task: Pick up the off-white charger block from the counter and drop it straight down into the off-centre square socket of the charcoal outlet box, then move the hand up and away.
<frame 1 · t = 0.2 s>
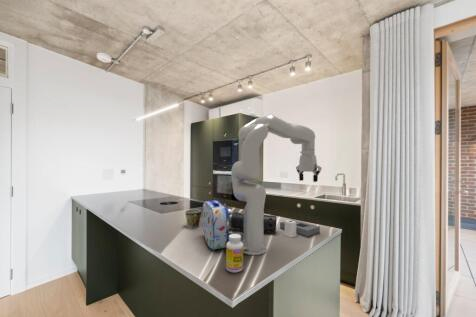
hand: (308, 181, 130), 30 cm above the counter, tool pointing down, fingers open, 9 cm apart
supplement bottle: (234, 269, 84), on the counter
lunch box: (215, 243, 110), on the counter
olive green tapered container: (193, 227, 136), on the counter
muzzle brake: (252, 231, 130), on the counter, touching spread jar
outlet box: (299, 230, 130), on the counter
spread jar: (224, 228, 135), on the counter, touching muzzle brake
charger: (290, 235, 122), on the counter
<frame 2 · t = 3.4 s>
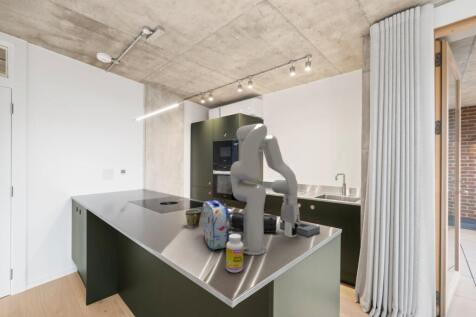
hand: (290, 233, 122), 1 cm above the counter, tool pointing down, fingers closed on charger, 4 cm apart
charger: (290, 235, 122), on the counter, touching gripper
when the fingers open (5 cm above the counter, at t = 8.0 s): charger drops 2 cm, resting on outlet box.
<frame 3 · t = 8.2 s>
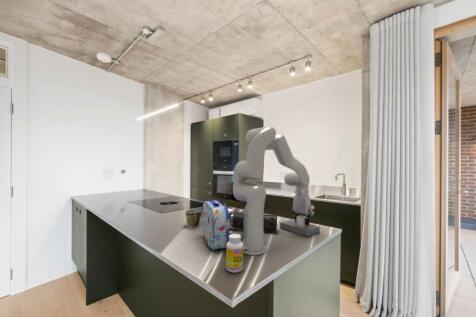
hand: (302, 223, 129), 5 cm above the counter, tool pointing down, fingers open, 6 cm apart
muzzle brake: (253, 230, 131), on the counter, touching spread jar
charger: (302, 230, 129), point 1 cm above the counter, touching outlet box
everything else where it was.
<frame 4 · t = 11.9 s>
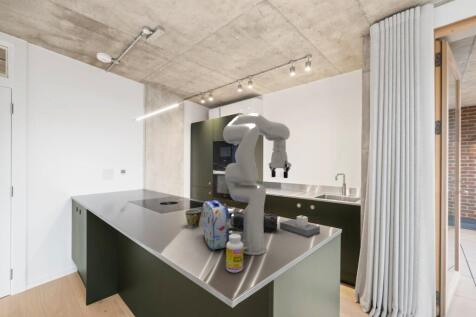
hand: (279, 177, 132), 32 cm above the counter, tool pointing down, fingers open, 9 cm apart
at the end: charger 0.1 cm from the target spot on the outlet box, point 1.0 cm above the outlet box's base; charger tilted 0°; the gripper is holding nothing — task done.
